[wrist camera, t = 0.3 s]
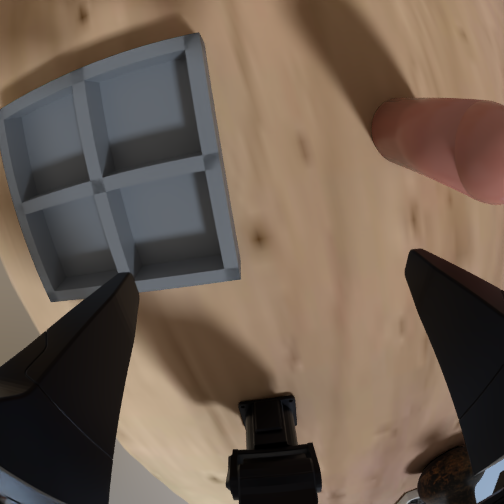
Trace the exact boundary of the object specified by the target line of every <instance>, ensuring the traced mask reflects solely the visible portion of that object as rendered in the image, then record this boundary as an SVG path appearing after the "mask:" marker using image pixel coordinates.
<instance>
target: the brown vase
mask: <svg viewBox="0 0 504 504" xmlns="http://www.w3.org/2000/svg"><path fill="white" fill-rule="evenodd" d="M484 472H485V470H484V471H482V472H480V473H479V474H477V475H475V476H474V474H473V471H472V467H471V463H470V459H469V455H468V451H467V447H458V448H455V449H452V450H450V451H448V452H446V453H444V454H443V455H441V456H439V457H438V458H436V459H435V460H434V461H432V462H431V463H430V464H429V465H428V466H427V467H426V468H425V469H424V471H423V472H422V474H421V476H420V478H419V481H418V486H417V492H418V495H419V497H420V499H421V500H422V501H423V502H425V503H427V504H477V503H476V498H475V486H476V484H477V483H478V482H479V480H480V479H481V478H482V476H483V474H484Z"/></svg>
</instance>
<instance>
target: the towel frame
mask: <svg viewBox="0 0 504 504" xmlns="http://www.w3.org/2000/svg"><path fill="white" fill-rule="evenodd" d="M418 497H419V495H418V492H417V489H416V490H413V491H411V492H408V493H406V494H405V495H404V496H403V497H402V499H401V500H400V501H399V502H398V503H397V504H408V503H409V502H410V501H411V500H413V499H416V498H418Z"/></svg>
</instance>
